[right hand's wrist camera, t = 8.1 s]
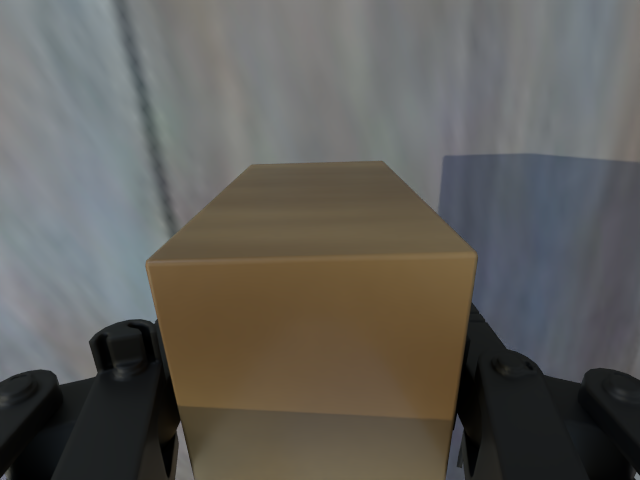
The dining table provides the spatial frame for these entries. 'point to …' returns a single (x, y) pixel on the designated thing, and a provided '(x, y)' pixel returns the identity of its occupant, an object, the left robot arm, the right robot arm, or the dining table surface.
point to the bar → (315, 326)
